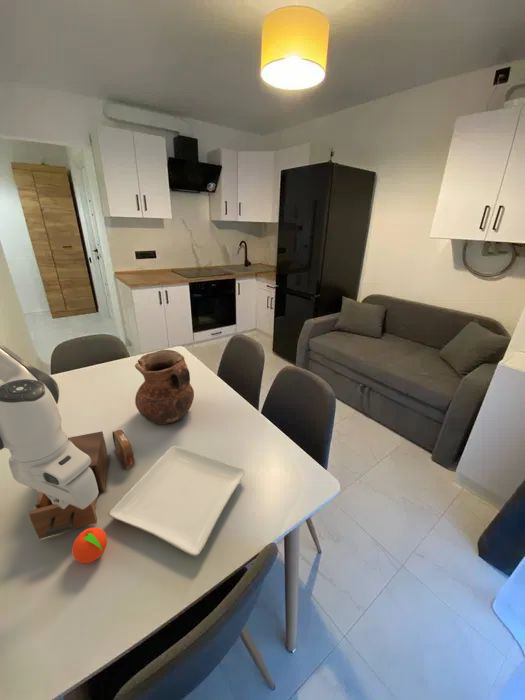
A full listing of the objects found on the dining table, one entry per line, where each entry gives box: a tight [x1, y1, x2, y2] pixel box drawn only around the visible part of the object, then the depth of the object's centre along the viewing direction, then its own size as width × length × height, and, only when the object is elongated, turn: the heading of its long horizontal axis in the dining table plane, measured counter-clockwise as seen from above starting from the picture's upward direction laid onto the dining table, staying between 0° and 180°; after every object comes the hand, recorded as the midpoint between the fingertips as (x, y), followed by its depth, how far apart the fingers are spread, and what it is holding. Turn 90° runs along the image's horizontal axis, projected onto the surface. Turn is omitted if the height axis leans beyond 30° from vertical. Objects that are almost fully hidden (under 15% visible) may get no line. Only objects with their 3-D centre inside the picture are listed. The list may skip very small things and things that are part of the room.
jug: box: [134, 349, 195, 425], centre depth 113 cm, size 22×21×25 cm
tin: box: [111, 429, 136, 469], centre depth 94 cm, size 15×3×8 cm, turn 40°
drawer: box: [28, 468, 99, 540], centre depth 74 cm, size 18×12×9 cm
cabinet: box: [67, 430, 109, 494], centre depth 85 cm, size 15×14×11 cm
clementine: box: [71, 526, 108, 564], centre depth 67 cm, size 8×7×7 cm
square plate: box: [107, 445, 246, 557], centre depth 82 cm, size 27×27×4 cm
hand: (61, 504), depth 63 cm, fingers closed
